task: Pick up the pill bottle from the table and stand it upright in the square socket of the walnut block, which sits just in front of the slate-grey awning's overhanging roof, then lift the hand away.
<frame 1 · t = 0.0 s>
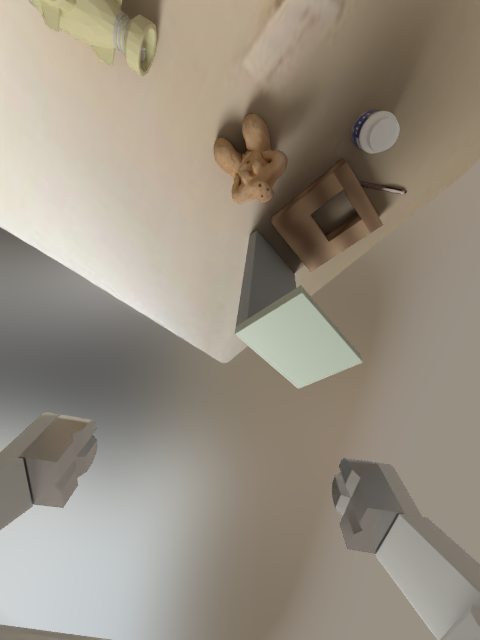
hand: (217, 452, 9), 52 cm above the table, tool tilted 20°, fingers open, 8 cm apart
pen: (376, 186, 49), on the table
socket block: (323, 218, 53), on the table
figurine: (251, 156, 48), on the table
toy: (101, 15, 38), on the table
pill bottle: (366, 129, 44), on the table
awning: (287, 244, 58), on the table
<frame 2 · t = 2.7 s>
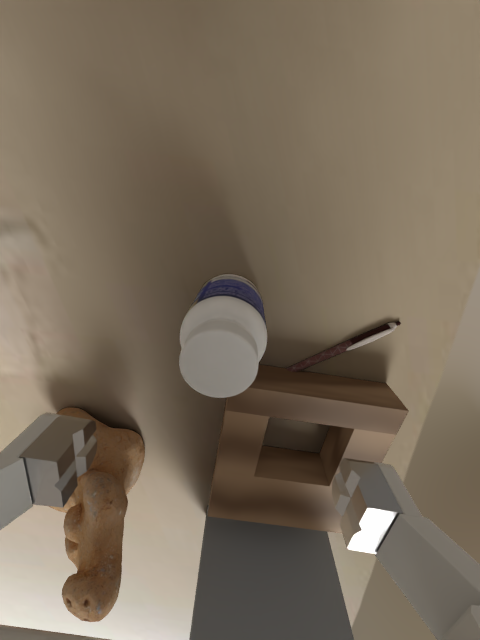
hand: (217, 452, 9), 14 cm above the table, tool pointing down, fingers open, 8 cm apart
pen: (331, 348, 23), on the table
socket block: (289, 438, 26), on the table
figurine: (112, 440, 27), on the table
pill bottle: (229, 304, 21), on the table
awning: (271, 496, 30), on the table
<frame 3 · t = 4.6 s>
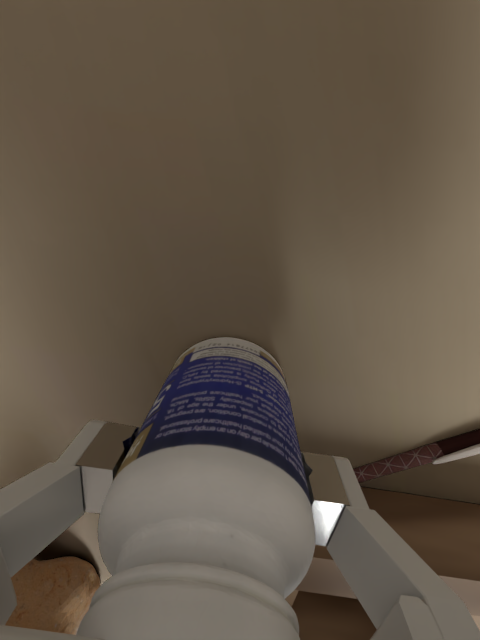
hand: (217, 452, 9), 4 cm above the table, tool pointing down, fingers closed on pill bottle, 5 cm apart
pen: (400, 450, 14), on the table
socket block: (322, 572, 17), on the table
figurine: (53, 563, 18), on the table
pill bottle: (228, 384, 12), on the table, touching gripper
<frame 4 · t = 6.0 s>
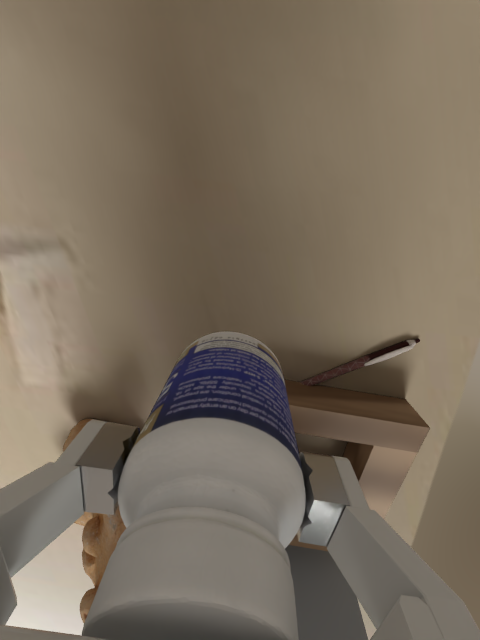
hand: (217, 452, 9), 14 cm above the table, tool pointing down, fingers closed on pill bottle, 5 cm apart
pen: (348, 362, 23), on the table
socket block: (306, 454, 26), on the table
figurine: (128, 453, 28), on the table
pill bottle: (229, 375, 13), point 9 cm above the table, touching gripper
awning: (287, 515, 29), on the table
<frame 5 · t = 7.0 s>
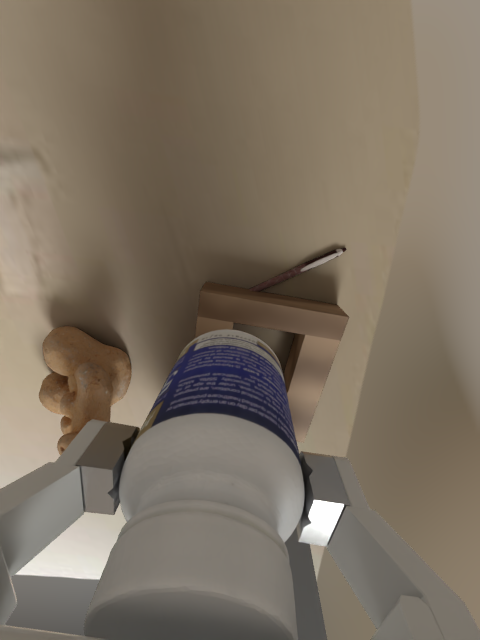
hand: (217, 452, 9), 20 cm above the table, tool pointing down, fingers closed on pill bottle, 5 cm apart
pen: (290, 272, 27), on the table
socket block: (257, 358, 30), on the table
figurine: (103, 362, 31), on the table
pill bottle: (229, 373, 13), point 15 cm above the table, touching gripper
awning: (243, 417, 34), on the table
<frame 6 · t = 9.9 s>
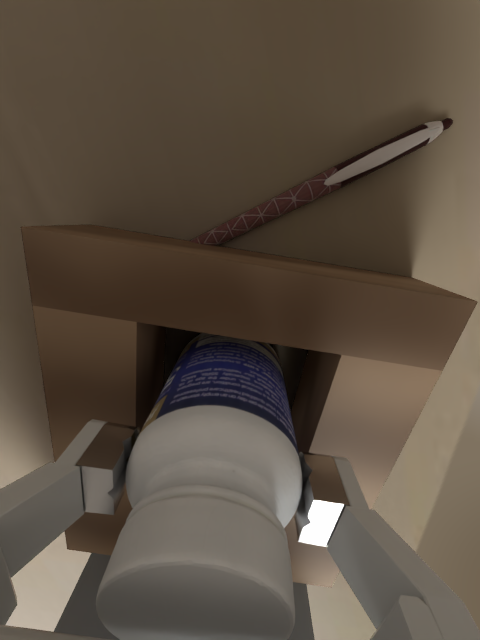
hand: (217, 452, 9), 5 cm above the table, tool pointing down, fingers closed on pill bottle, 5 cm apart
pen: (295, 197, 11), on the table
socket block: (227, 402, 14), on the table
pill bottle: (229, 370, 14), resting in socket block, touching gripper
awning: (208, 511, 17), on the table
when the fingers open (5 cm above the table, at t = 10.4 s): pill bottle stays where it is, resting in socket block.
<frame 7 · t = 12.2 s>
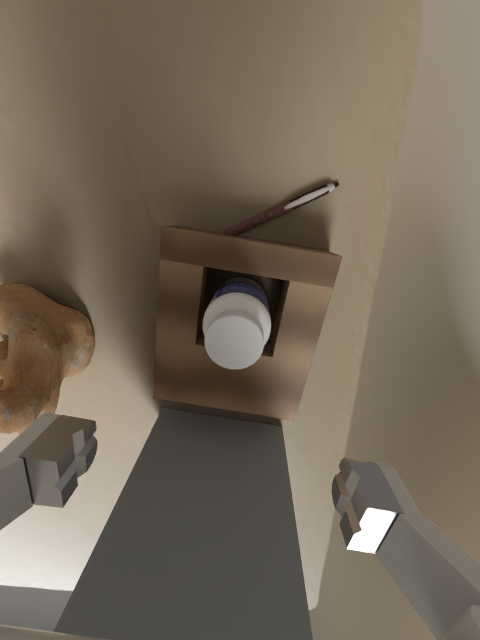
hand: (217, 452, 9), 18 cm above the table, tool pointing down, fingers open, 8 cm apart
pen: (272, 213, 23), on the table
socket block: (238, 321, 26), on the table
figurine: (63, 329, 28), on the table
pill bottle: (240, 303, 26), resting in socket block
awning: (226, 395, 29), on the table
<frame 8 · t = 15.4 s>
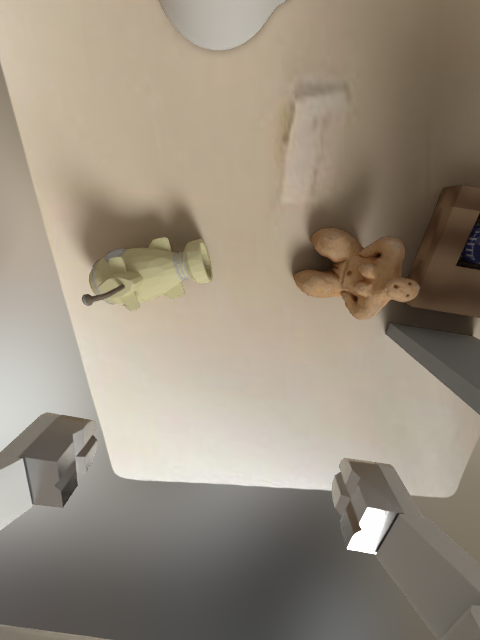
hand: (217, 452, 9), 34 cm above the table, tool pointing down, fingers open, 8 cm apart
socket block: (465, 255, 38), on the table
figurine: (336, 264, 40), on the table
toy: (158, 268, 41), on the table
pill bottle: (469, 242, 38), resting in socket block
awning: (439, 312, 42), on the table
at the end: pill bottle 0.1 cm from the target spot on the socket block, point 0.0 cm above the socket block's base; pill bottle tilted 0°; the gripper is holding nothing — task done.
